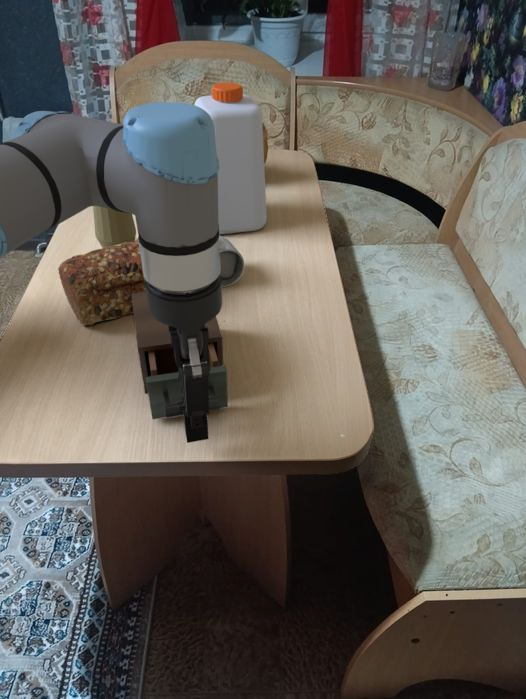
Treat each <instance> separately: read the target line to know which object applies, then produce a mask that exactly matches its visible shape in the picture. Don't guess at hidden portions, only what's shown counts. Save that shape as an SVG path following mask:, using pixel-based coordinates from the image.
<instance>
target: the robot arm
mask: <svg viewBox="0 0 526 699" xmlns="http://www.w3.org/2000/svg"><path fill="white" fill-rule="evenodd" d="M218 170H219V160H218V157H217V151H216V140H215V130H214V123H213V120H212V118H211V117H210V115H209V114H208V113H207V112H206V111H205V110H203V109H202V108H200V107H198V106H195V104H191V103H188V102H181V101H180V102H179V101H176V102H175V101H174V102H167V101H156V102H148V103H143V104H140V105H136V106H134V107H132V108H131V109H129V110H128V111H127V112H126V113H125V115H124V117H123V119H122V123H118V122H111V121H107V120H102V119H97V118H94V117H88V116H84V115H83V116H82V115H79V114H77V113H75V112H69V111H64V110H62V111H60V110H58V111H50V110H38V111H37V110H36V111H34V112H31V113H28V114H27V115H25V116H24V117H23V118H22V119H21V122H20V123H19V124H18V125H17V127H15V128H14V130H13V132H12V135H11V139H9V140H7V141H4V142H3V141H2V142H0V260H2V258H3V257H4V256H6V255H8V254H9V253H11V252H13V251H14V250H16V249H17V248H19V247H21V246H23V245H24V244H26V243H27V242H29V241H30V240H32V239H34V238H35V237H38V236H39V235H40V234H42V233H45V232H47V231H49V230H51V229H53V228H54V227H57V226H58V225H60V224H61V223H64V222H65V221H68V220H69V219H71V218H72V217H74V216H76V215H78V214H79V213H81V212H83V211H84V210H86V209H88V208H90V207H93V206H99V207H103V208H107V209H111V210H115V211H120V212H124V213H132V215H133V216H135V223H136V224H135V225H136V231H137V234H138V236H137V237H138V239H137V240H138V242H139V248H140V255H141V262H142V269H143V275H144V278H145V280H146V281H145V287H146V294H147V301H148V308H149V311H150V314H151V315H152V316H153V318H155V319H156V320H157V321H158V322H160V323H162V324H164V325H167V326H168V329H169V333H170V339H171V344H172V348H173V350H174V353H175V360H176V365H177V367H178V371H179V373H178V378H179V379H180V381H181V388H180V390H181V392H182V395H184V397H182V402H178V408H179V411H183V415H184V416H183V424H184V431H185V432H184V433H185V438H186V443H187V444H188V443H194V442H200V441H206V440H209V439H210V438H209V425H208V414H210V411H209V410H210V409H209V372H210V366H209V364H208V363H207V362H208V353H207V345H208V343H209V332H208V327H205V324H206V323H207V322H209V321H210V320H212V319H213V318H215V317H216V318H217V316H218V315H219V313H220V312H221V311H222V307H223V287H222V281H221V276H220V269H221V267H220V255H219V252H218V251H222V250H225V249H226V244H225V242H224V240H220V241H219V236H220V234H219V223H218Z"/></svg>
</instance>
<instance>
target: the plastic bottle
mask: <svg viewBox="0 0 526 699" xmlns="http://www.w3.org/2000/svg"><path fill="white" fill-rule="evenodd" d="M194 105H195V106H198V107H200V108H202V109H203V110H205V111H206V112H207V113H208V114H209V115H210V117H211V118H212V120H213V123H214V130H215V140H216V151H217V157H218V160H219V170H218V223H219V235H227V234H237V233H247V232H254V231H258V230H260V229H262V228H264V226H265V225H266V224H267V221H268V219H267V196H266V195H267V194H266V176H265V174H266V173H265V164H264V150H263V128H262V122H263V112H262V110H261V107H260V106H259V104H258V103H257V102H256V100H254V99H253V98H252V97H251V96H249V95H247V94H244V88H243V86H242V85H241V84H240V83H237V82H232V81H229V82H228V81H224V82H217V83H214V84H213V85H212V87H211V95H203V96H200V97H198V98H197V99H196V100H195V102H194Z"/></svg>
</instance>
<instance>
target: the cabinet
mask: <svg viewBox="0 0 526 699" xmlns="http://www.w3.org/2000/svg"><path fill="white" fill-rule="evenodd" d="M131 295H132V304H133V312H134V313H133V321H134V328H135V329H134V330H135V336H136V338H135V339H136V345H137V346H136V348H137V353H138V359H139V365H140V372H141V377H142V384H143V390H144V394H145V395H146V394H148V388H147V381H146V377H149V376H151V369H150V362H149V354H148V351H152V350H159V349H167V348H172V344H171V339H170V333H169V329H168V326H167V325H164V324H162V323H160V322H158V321H157V320H156V319H155V318H153V316H152V315H151V314H150V311H149V308H148V301H147V294H146V292H140V293H131ZM205 327H208V332H209V343H211V342H213V345H214V348H215V352H216V355H217V359H218V366H224V357H223V356H224V351H223V347H224V346H223V334H222V331H221V328H220V325H219V321H218V319H217V316H216V317H215V318H213V319H212V320H210V321H209V322H207V323H206V324H205Z"/></svg>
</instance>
